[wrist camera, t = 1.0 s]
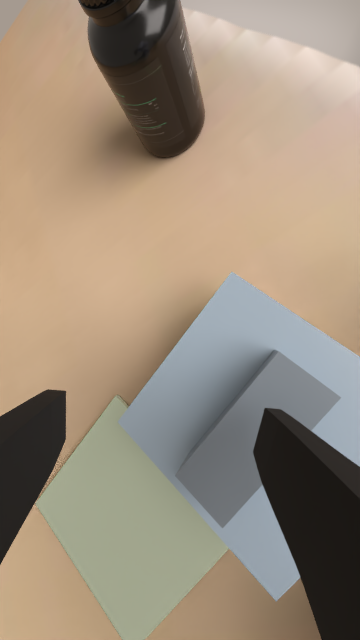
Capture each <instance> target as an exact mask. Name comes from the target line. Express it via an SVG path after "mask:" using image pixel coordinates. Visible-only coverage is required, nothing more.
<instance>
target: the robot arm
mask: <svg viewBox="0 0 360 640" xmlns="http://www.w3.org/2000/svg"><path fill="white" fill-rule="evenodd" d="M65 440H66V391H60V390H46V391H44V392H42V393H40V394H38V395H36V396H35V397H33V398H31V399H29V400H28V401H26V402H24V403H23V404H21V405H19V406H17V407H16V408H14V409H12V410H11V411H9V412H7V413H5V414H4V415H2V416H0V564H1V562H2V561H3V559H4V557H5V555H6V553H7V551H8V550H9V548H10V546H11V544H12V542H13V541H14V539H15V537H16V535H17V534H18V532H19V530H20V528H21V526H22V525H23V523H24V521H25V519H26V517H27V516H28V514H29V512H30V510H31V509H32V507H33V505H34V503H35V501H36V500H37V498H38V496H39V494H40V492H41V491H42V489H43V487H44V485H45V483H46V482H47V480H48V478H49V476H50V474H51V472H52V470H53V468H54V466H55V464H56V461H57V459H58V457H59V454H60V452H61V450H62V447H63V445H64V442H65ZM253 455H254V458H255V462H256V466H257V469H258V472H259V476H260V479H261V482H262V485H263V487H264V490H265V492H266V495H267V497H268V499H269V502H270V504H271V507H272V509H273V512H274V514H275V516H276V519H277V521H278V524H279V526H280V528H281V531H282V533H283V535H284V538H285V540H286V543H287V545H288V547H289V550H290V552H291V555H292V557H293V559H294V562H295V564H296V567H297V569H298V572H299V575H300V577H301V580H302V582H303V585H304V588H305V591H306V594H307V597H308V600H309V603H310V606H311V609H312V612H313V615H314V618H315V621H316V624H317V627H318V630H319V633H320V635H321V639H322V640H360V467H359V466H358V465H357V464H355V463H354V462H352V461H351V460H350V459H348V458H347V457H345V456H344V455H343V454H341V453H340V452H339V451H337V450H336V449H335V448H333V447H332V446H331V445H329V444H328V443H327V442H325V441H324V440H323V439H321V438H320V437H319V436H317V435H316V434H315V433H313V432H312V431H311V430H309V429H308V428H307V427H305V426H304V425H303V424H301V423H300V422H298V421H297V420H296V419H294V418H293V417H292V416H290V415H289V414H287V413H286V412H284V411H283V410H281V409H274V408H265V409H264V413H263V416H262V420H261V424H260V427H259V431H258V435H257V438H256V442H255V446H254V449H253Z"/></svg>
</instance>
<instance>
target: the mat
mask: <svg viewBox="0 0 360 640" xmlns="http://www.w3.org/2000/svg"><path fill="white" fill-rule="evenodd" d="M128 407H129V406H128V405H127V404H126V403H125V402H124V400H123V399H122V398H121V397H120V396H119V395H116V396H115V397H114V399H113V400H112V401H111V403H110V404H109V405H108V407H107V408H106V409H105V411H104V412H103V413H102V415H101V416H100V417H99V419H98V420H97V421H96V423H95V424H94V425H93V427H92V428H91V429H90V431H89V432H88V433H87V435H86V436H85V437H84V439H83V440H82V441H81V443H80V444H79V446H78V447H77V448H76V450H75V451H74V452H73V454H72V455H71V456H70V458H69V459H68V460H67V462H66V463H65V464H64V466H63V467H62V468H61V470H60V471H59V472H58V474H57V475H56V476H55V478H54V479H53V480H52V482H51V483H50V484H49V486H48V487H47V488H46V490H45V491H44V492H43V494H42V495H41V496H40V498H39V499H38V500H37V502H36V503H35V504H36V506H37V507H38V509H39V510H40V512H41V513H42V515H43V516H44V518H45V520H46V521H47V523H48V524H49V526H50V527H51V529H52V531H53V532H54V534H55V535H56V537H57V538H58V540H59V542H60V543H61V545H62V546H63V548H64V549H65V551H66V552H67V554H68V556H69V557H70V559H71V560H72V562H73V563H74V565H75V567H76V568H77V570H78V571H79V573H80V574H81V576H82V578H83V579H84V581H85V582H86V584H87V585H88V587H89V588H90V590H91V592H92V593H93V595H94V596H95V598H96V599H97V601H98V603H99V604H100V606H101V607H102V609H103V610H104V612H105V613H106V615H107V617H108V618H109V620H110V621H111V623H112V624H113V626H114V628H115V629H116V631H117V632H118V634H119V635H120V637H121V639H122V640H145V639H146V638H147V637H148V636H149V635H150V634H151V632H152V631H153V630H154V629H155V628H156V627H157V626H158V625H159V624H160V623H161V622H162V621H163V620H164V618H165V617H166V616H167V615H168V614H169V613H170V612H171V611H172V610H173V609H174V608H175V607H176V605H177V604H178V603H179V602H180V601H181V600H182V599H183V598H184V597H185V596H186V595H187V594H188V593H189V591H190V590H191V589H192V588H193V587H194V586H195V585H196V584H197V583H198V582H199V581H200V580H201V578H202V577H203V576H204V575H205V574H206V573H207V572H208V571H209V570H210V569H211V568H212V567H213V566H214V564H215V563H216V562H217V561H218V560H219V559H220V558H221V557H222V556H223V555H224V554H225V553H226V552H227V550H228V549H229V548H228V547H227V545H226V544H225V543H224V542H223V541H222V540H221V539H220V537H219V536H218V535H217V534H216V533H215V532H214V531H213V530H212V528H211V527H210V526H209V525H208V524H207V523H206V522H205V520H204V519H203V518H202V517H201V516H200V515H199V514H198V513H197V511H196V510H195V509H194V508H193V507H192V506H191V505H190V504H189V502H188V501H187V500H186V499H185V498H184V497H183V496H182V494H181V493H180V492H179V491H178V490H177V489H176V488H175V487H174V485H173V484H172V483H171V482H170V481H169V480H168V479H167V477H166V476H165V475H164V474H163V473H162V472H161V471H160V470H159V468H158V467H157V466H156V465H155V464H154V463H153V462H152V461H151V459H150V458H149V457H148V456H147V455H146V454H145V453H144V451H143V450H142V449H141V448H140V447H139V446H138V445H137V444H136V442H135V441H134V440H133V439H132V438H131V437H130V436H129V434H128V433H127V432H126V431H125V430H124V429H123V428H122V427H121V425H120V424H119V423H118V420H119V419H120V418H121V417H122V415H123V414H124V413H125V411H126V410H127V409H128Z"/></svg>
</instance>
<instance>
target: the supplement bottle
mask: <svg viewBox="0 0 360 640" xmlns="http://www.w3.org/2000/svg"><path fill="white" fill-rule="evenodd" d="M78 1H79V3H80V5H81V7H82V8H83V10H84V12H85V13H86V14H87V15H88V16H89V20H88V40H89V46H90V50H91V53H92V56H93V58H94V60H95V62H96V64H97V66H98V67H99V69H100V71H101V73H102V74H103V76H104V78H105V80H106V81H107V83H108V85H109V86H110V88H111V90H112V92H113V93H114V95H115V97H116V99H117V100H118V102H119V104H120V105H121V107H122V109H123V111H124V112H125V114H126V116H127V118H128V119H129V121H130V123H131V124H132V126H133V128H134V130H135V131H136V133H137V135H138V137H139V138H140V140H141V141H142V143H143V145H144V146H145V148H146V149H147V150H148V151H149V152H150V153H152V154H153V155H156V156H159V157H171V156H175V155H177V154H179V153H181V152H183V151H185V150H186V149H187V148H189V147H190V146H191V145H192V144H193V143H194V141H195V140H196V139H197V137H198V136H199V134H200V132H201V130H202V127H203V123H204V118H205V109H204V103H203V99H202V94H201V89H200V85H199V81H198V76H197V72H196V67H195V63H194V59H193V54H192V50H191V45H190V41H189V37H188V32H187V28H186V23H185V19H184V15H183V10H182V6H181V2H180V0H78Z"/></svg>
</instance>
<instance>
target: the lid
mask: <svg viewBox="0 0 360 640" xmlns="http://www.w3.org/2000/svg"><path fill="white" fill-rule="evenodd" d="M265 408H274V409H281V410H283V411H284V412H286V413H287V414H289V415H290V416H292V417H293V418H294V419H296V420H297V421H298V422H300V423H301V424H303V425H304V426H305V427H307V428H308V429H309V430H311V431H312V432H313V433H315V434H316V435H317V436H319V437H320V438H321V439H323V440H324V441H325V442H327V443H328V444H329V445H331V446H332V447H333V448H335V449H336V450H337V451H339V452H340V453H341V454H343V455H344V456H345V457H347V458H348V459H350V460H351V461H352V462H354V463H355V464H357V465H358V466H359V467H360V357H359V356H358V355H356V354H355V353H353V352H352V351H350V350H349V349H347V348H346V347H344V346H343V345H341V344H340V343H338V342H337V341H335V340H334V339H332V338H331V337H329V336H328V335H326V334H325V333H323V332H322V331H320V330H319V329H317V328H316V327H314V326H313V325H311V324H310V323H308V322H307V321H305V320H304V319H302V318H301V317H299V316H298V315H296V314H295V313H293V312H292V311H290V310H289V309H287V308H286V307H284V306H283V305H281V304H280V303H278V302H277V301H275V300H274V299H272V298H271V297H269V296H268V295H266V294H265V293H263V292H262V291H260V290H259V289H257V288H256V287H254V286H253V285H251V284H250V283H248V282H247V281H245V280H244V279H242V278H241V277H239V276H238V275H236V274H235V273H233V272H231V273H230V275H229V276H228V277H227V279H226V280H225V281H224V283H223V284H222V285H221V286H220V288H219V289H218V290H217V292H216V293H215V294H214V296H213V297H212V298H211V300H210V301H209V302H208V304H207V305H206V306H205V307H204V309H203V310H202V311H201V313H200V314H199V315H198V317H197V318H196V319H195V321H194V322H193V323H192V325H191V326H190V327H189V329H188V330H187V331H186V332H185V334H184V335H183V336H182V338H181V339H180V340H179V342H178V343H177V344H176V346H175V347H174V348H173V350H172V351H171V352H170V353H169V355H168V356H167V357H166V359H165V360H164V361H163V363H162V364H161V365H160V367H159V368H158V369H157V371H156V372H155V373H154V374H153V376H152V377H151V378H150V380H149V381H148V382H147V384H146V385H145V386H144V388H143V389H142V390H141V392H140V393H139V394H138V396H137V397H136V398H135V399H134V401H133V402H132V403H131V405H130V406H129V407H128V409H127V410H126V411H125V413H124V414H123V415H122V417H121V418H120V419H119V420H118V423H119V424H120V425H121V427H122V428H123V429H124V430H125V431H126V432H127V433H128V434H129V436H130V437H131V438H132V439H133V440H134V441H135V442H136V444H137V445H138V446H139V447H140V448H141V449H142V450H143V451H144V453H145V454H146V455H147V456H148V457H149V458H150V459H151V461H152V462H153V463H154V464H155V465H156V466H157V467H158V468H159V470H160V471H161V472H162V473H163V474H164V475H165V476H166V477H167V479H168V480H169V481H170V482H171V483H172V484H173V485H174V487H175V488H176V489H177V490H178V491H179V492H180V493H181V494H182V496H183V497H184V498H185V499H186V500H187V501H188V502H189V504H190V505H191V506H192V507H193V508H194V509H195V510H196V511H197V513H198V514H199V515H200V516H201V517H202V518H203V519H204V520H205V522H206V523H207V524H208V525H209V526H210V527H211V528H212V530H213V531H214V532H215V533H216V534H217V535H218V536H219V537H220V539H221V540H222V541H223V542H224V543H225V544H226V545H227V547H228V548H229V549H230V550H231V551H232V552H233V553H234V554H235V556H236V557H237V558H238V559H239V560H240V561H241V562H242V563H243V565H244V566H245V567H246V568H247V569H248V570H249V571H250V573H251V574H252V575H253V576H254V577H255V578H256V579H257V580H258V582H259V583H260V584H261V585H262V586H263V587H264V588H265V590H266V591H267V592H268V593H269V594H270V595H271V596H272V597H273V599H274V600H275V601H277V600H278V599H279V598H280V597H281V596H282V595H283V594H284V593H285V592H286V591H287V590H288V589H289V588H290V587H291V586H292V585H293V584H294V583H295V582H296V581H297V580H298V579H299V578H300V575H299V572H298V569H297V567H296V564H295V562H294V559H293V557H292V555H291V552H290V550H289V547H288V545H287V543H286V540H285V538H284V535H283V533H282V531H281V528H280V526H279V524H278V521H277V519H276V516H275V514H274V512H273V509H272V507H271V504H270V502H269V499H268V497H267V495H266V492H265V490H264V487H263V485H262V482H261V479H260V476H259V472H258V469H257V466H256V462H255V458H254V455H253V449H254V446H255V442H256V438H257V435H258V431H259V427H260V424H261V420H262V416H263V413H264V409H265Z"/></svg>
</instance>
